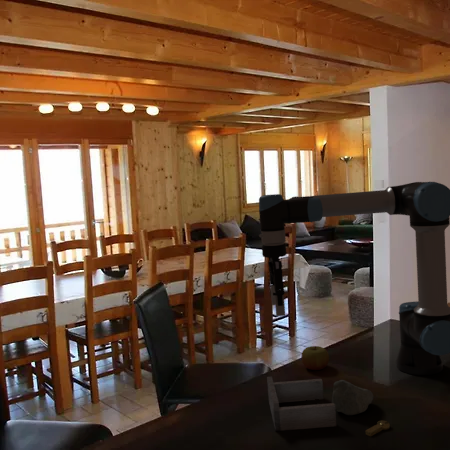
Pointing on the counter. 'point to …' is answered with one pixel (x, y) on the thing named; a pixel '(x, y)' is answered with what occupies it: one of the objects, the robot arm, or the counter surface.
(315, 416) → the gray open-sided box
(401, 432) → the counter surface
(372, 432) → the wooden spoon
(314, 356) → the apple
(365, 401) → the decorative stone
